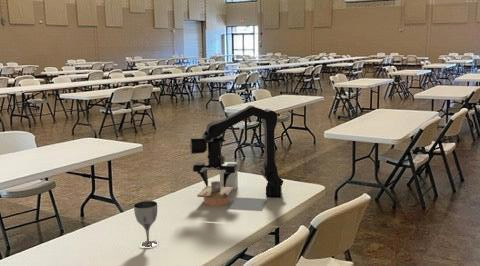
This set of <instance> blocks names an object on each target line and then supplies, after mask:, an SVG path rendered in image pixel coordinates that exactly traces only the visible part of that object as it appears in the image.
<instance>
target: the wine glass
mask: <svg viewBox="0 0 480 266" xmlns="http://www.w3.org/2000/svg"><path fill="white" fill-rule="evenodd" d="M133 211H134V217H135V219H136V222H138V224H139V225H141V226H142V228H143V229H144V231H145V234H146V235H145V236H146V240H144V241H145V242H143V241H142V242H143V243H142V246H145V247H150V246H151V247H152V246H155V245H156V244H157V242H158V241H157V242H156V240H153V241H149V240H150V229H151V227H152V225H153V224H154V223H155V222H156V220H157V216H158V202H157V201H155V200H142V201H138V202H136V203H133Z"/></svg>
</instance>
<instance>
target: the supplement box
mask: <svg viewBox="0 0 480 266" xmlns="http://www.w3.org/2000/svg"><path fill="white" fill-rule="evenodd" d="M228 163H230V164H237V165H238V162H237V161H225V163H224V164H223V165H222V166H227V164H228ZM224 173H225V170H219V181H220V186H221V187H224ZM238 175H239V174H238V170H237V171H236V172H235V173H231V175H229V177H228V180H227V183H226V186H225V187H234V190H233V191H232V192H235V191H236V190H237V189H238V187H239V182H238V181H239V180H238Z"/></svg>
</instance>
